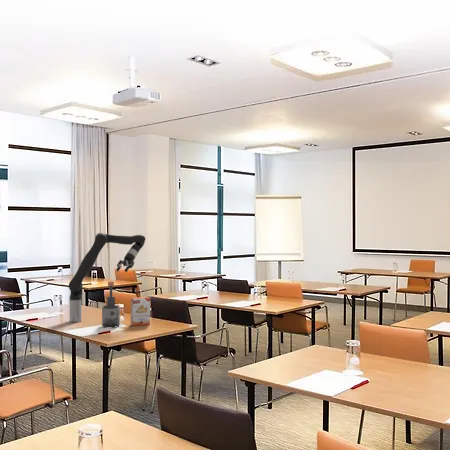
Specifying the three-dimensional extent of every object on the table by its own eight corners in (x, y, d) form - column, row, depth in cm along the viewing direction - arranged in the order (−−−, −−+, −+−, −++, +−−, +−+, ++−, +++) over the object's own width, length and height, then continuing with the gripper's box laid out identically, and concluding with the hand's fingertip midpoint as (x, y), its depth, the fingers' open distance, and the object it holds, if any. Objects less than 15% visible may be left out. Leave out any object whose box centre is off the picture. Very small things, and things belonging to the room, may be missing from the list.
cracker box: (132, 326, 400) (132, 298, 401) (130, 325, 406) (130, 297, 406) (150, 324, 407) (150, 297, 407) (147, 323, 412) (147, 296, 412)
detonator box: (101, 325, 406) (101, 296, 406) (118, 324, 410) (118, 295, 410) (103, 329, 389) (103, 299, 390) (121, 328, 394) (121, 298, 394)
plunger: (107, 297, 403) (107, 281, 404) (113, 297, 405) (113, 281, 405) (108, 298, 399) (108, 282, 399) (114, 297, 401) (114, 281, 401)
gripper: (121, 252, 423) (112, 267, 414) (135, 252, 416) (125, 268, 406) (126, 258, 428) (116, 273, 418) (140, 259, 421) (130, 274, 411)
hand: (121, 271), depth 412 cm, fingers open, 8 cm apart
